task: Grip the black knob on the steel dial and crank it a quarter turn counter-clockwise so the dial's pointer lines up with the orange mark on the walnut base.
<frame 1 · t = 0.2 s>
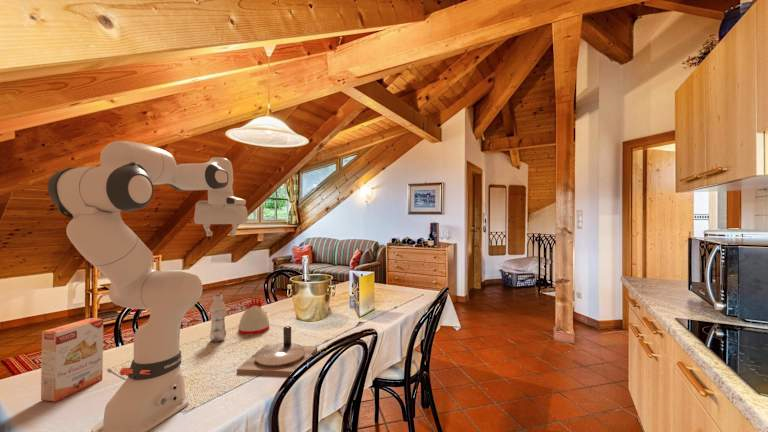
hand: (220, 236, 126), 47 cm above the table, tool pointing down, fingers open, 8 cm apart
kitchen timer: (254, 330, 159), on the table
dial: (280, 344, 124), point 6 cm above the table, hinge at 0.0°
plastic bottle: (218, 341, 145), on the table
dial base: (280, 360, 124), on the table
cracker box: (74, 390, 104), on the table
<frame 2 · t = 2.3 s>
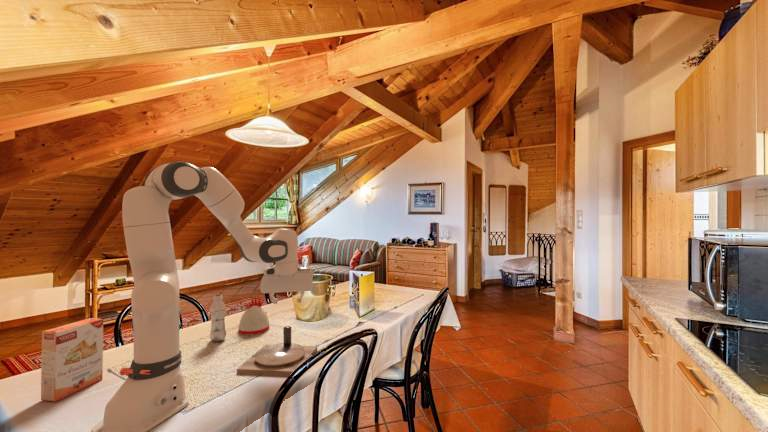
hand: (287, 302, 131), 20 cm above the table, tool pointing down, fingers open, 8 cm apart
nothing on the table moved.
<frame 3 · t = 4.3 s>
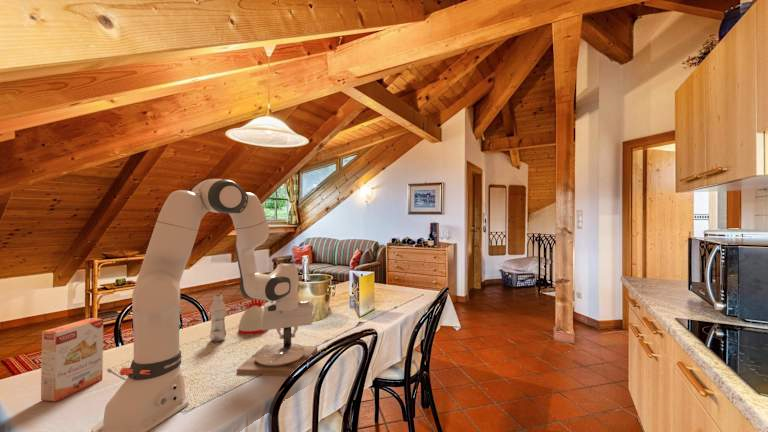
hand: (287, 337, 131), 6 cm above the table, tool pointing down, fingers closed on dial, 3 cm apart
dial: (280, 344, 124), point 6 cm above the table, hinge at 0.0°, touching gripper
everything else where it was.
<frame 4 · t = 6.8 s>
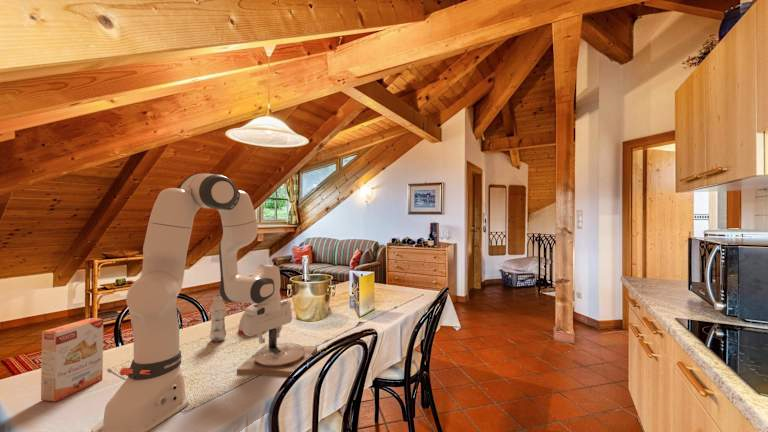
hand: (269, 340, 129), 6 cm above the table, tool pointing down, fingers open, 5 cm apart
dial: (280, 344, 124), point 6 cm above the table, hinge at 47.2°, touching gripper
everything else where it was.
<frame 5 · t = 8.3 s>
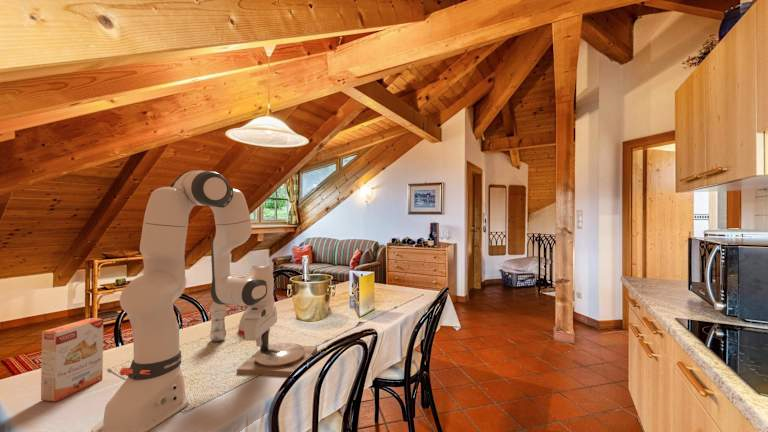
hand: (262, 342, 126), 6 cm above the table, tool pointing down, fingers open, 4 cm apart
dial: (280, 344, 124), point 6 cm above the table, hinge at 79.5°, touching gripper
everything else where it was.
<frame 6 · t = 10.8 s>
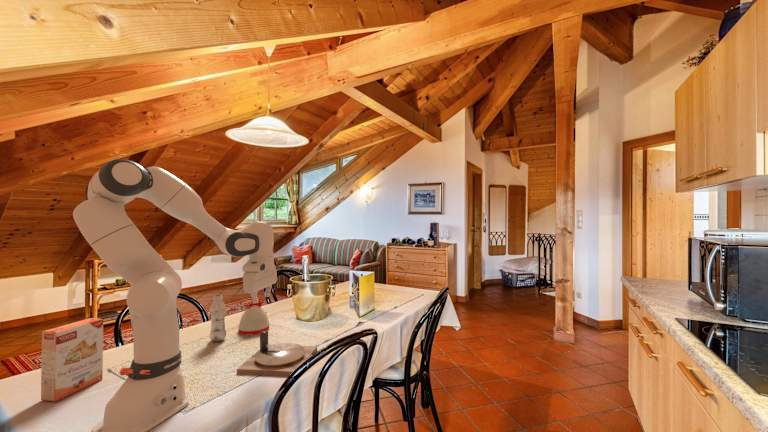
hand: (261, 299, 125), 23 cm above the table, tool pointing down, fingers open, 8 cm apart
dial: (280, 344, 124), point 6 cm above the table, hinge at 80.8°
everything else where it was.
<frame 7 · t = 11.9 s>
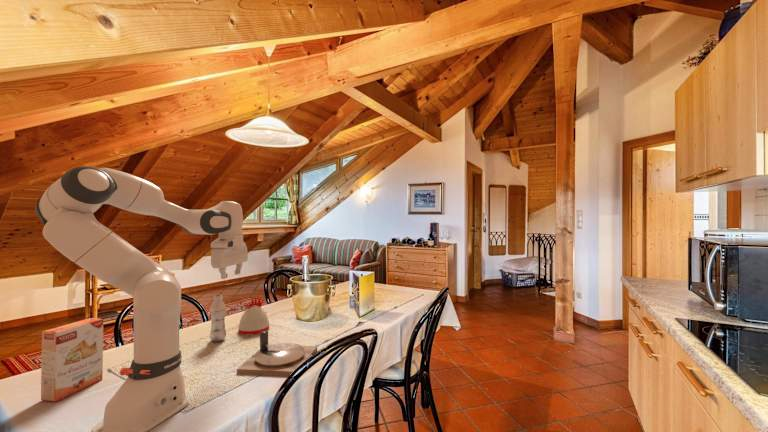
hand: (231, 276, 130), 31 cm above the table, tool pointing down, fingers open, 8 cm apart
nothing on the table moved.
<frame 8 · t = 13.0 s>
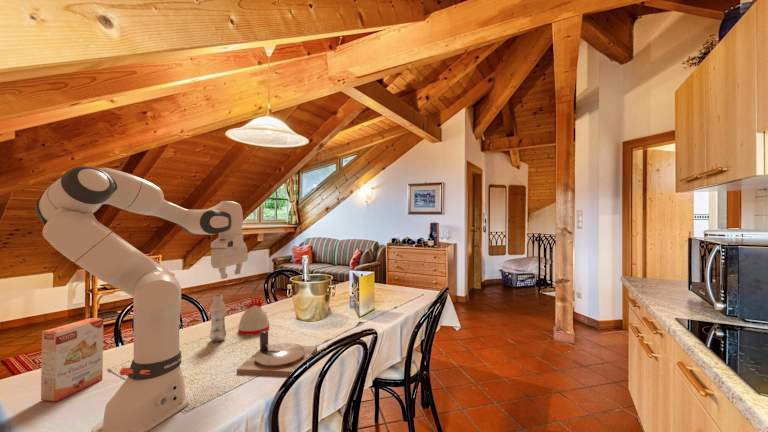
hand: (231, 276, 130), 31 cm above the table, tool pointing down, fingers open, 8 cm apart
nothing on the table moved.
at the end: dial at +81° (first picture: +0°); the gripper is holding nothing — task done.
